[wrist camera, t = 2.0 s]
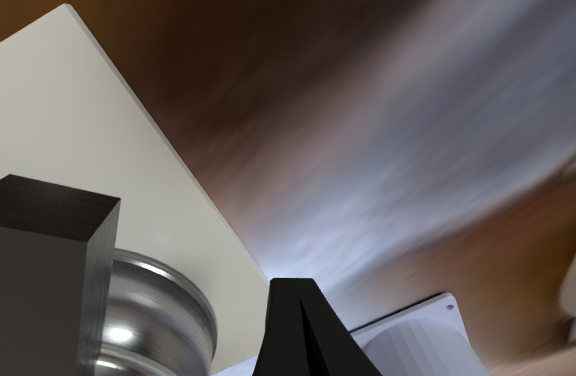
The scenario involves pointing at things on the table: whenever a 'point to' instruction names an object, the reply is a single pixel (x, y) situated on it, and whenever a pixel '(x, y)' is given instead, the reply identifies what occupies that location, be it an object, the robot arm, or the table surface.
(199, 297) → the pot
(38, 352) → the lid
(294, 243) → the table surface
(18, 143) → the plate
